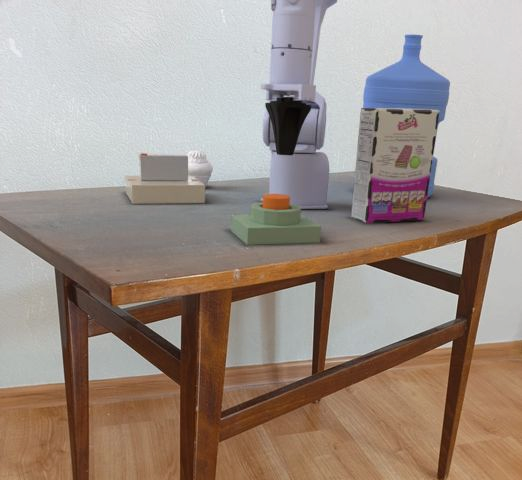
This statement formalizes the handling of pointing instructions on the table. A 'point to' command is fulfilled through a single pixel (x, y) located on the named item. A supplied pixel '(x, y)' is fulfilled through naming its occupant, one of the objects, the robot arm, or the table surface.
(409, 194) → the candy bar box
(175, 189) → the base
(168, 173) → the gray rectangular brick
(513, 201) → the table surface
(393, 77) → the water jug
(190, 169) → the muffin
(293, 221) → the switch
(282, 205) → the button
